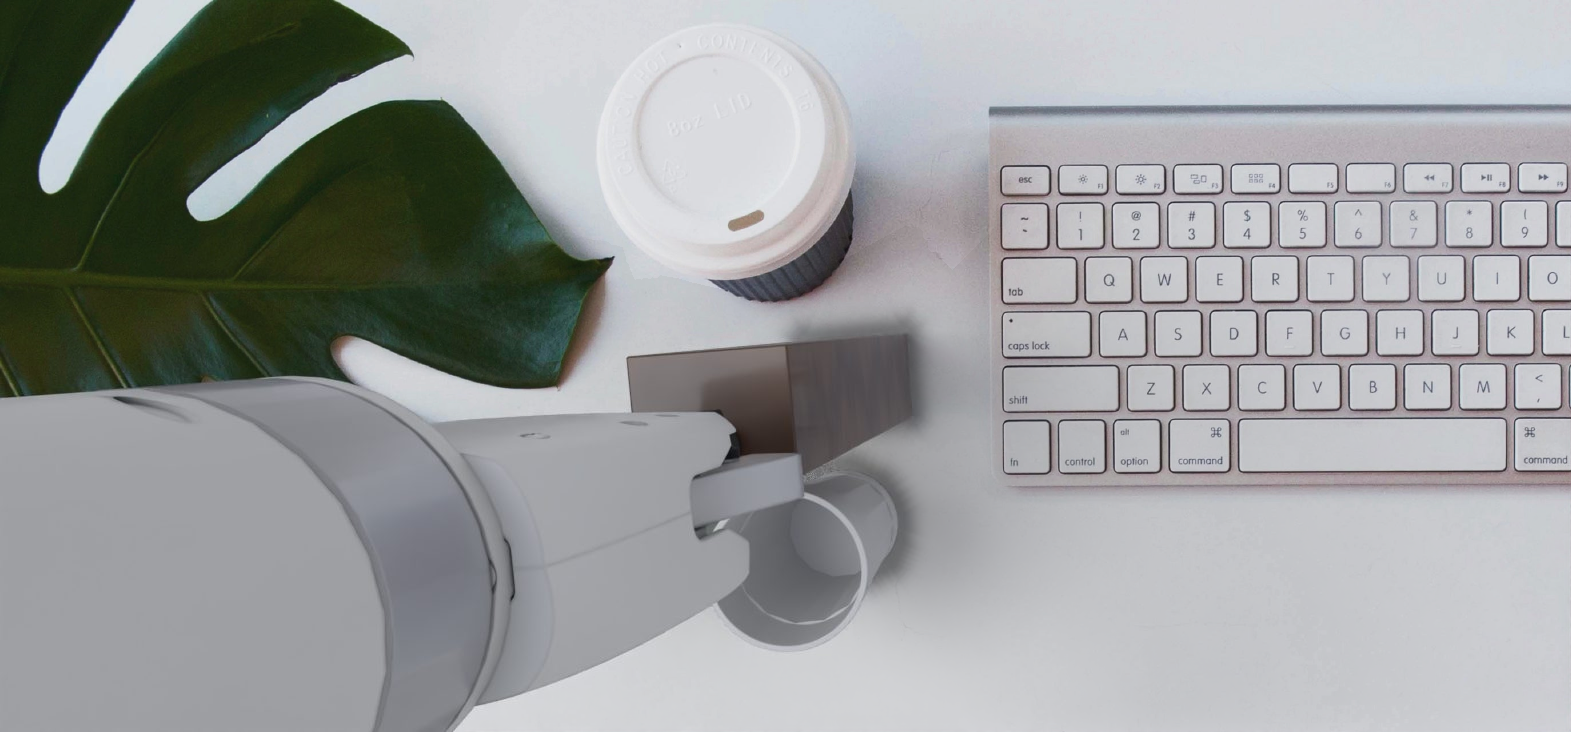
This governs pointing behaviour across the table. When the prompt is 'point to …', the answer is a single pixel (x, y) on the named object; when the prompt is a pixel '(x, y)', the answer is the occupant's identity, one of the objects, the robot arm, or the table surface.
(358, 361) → the table surface
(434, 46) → the table surface
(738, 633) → the cup
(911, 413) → the stand
